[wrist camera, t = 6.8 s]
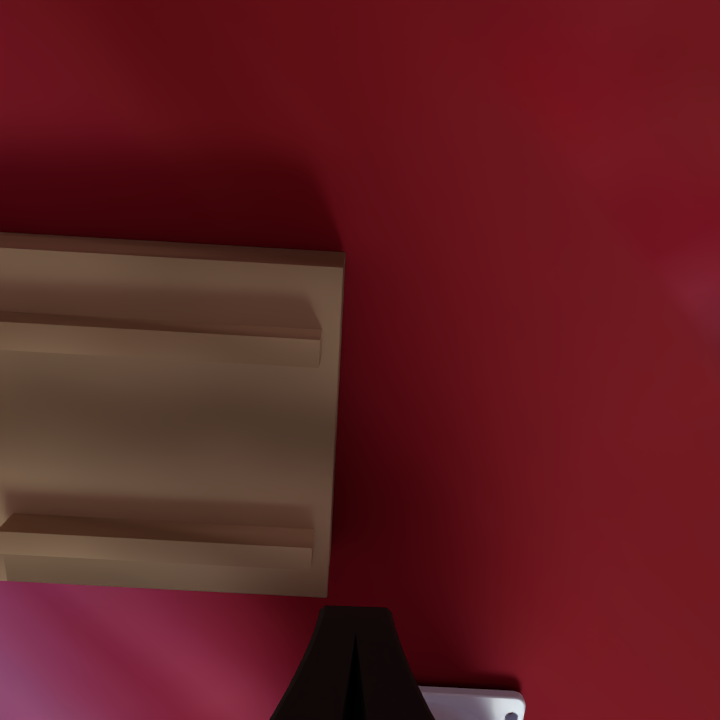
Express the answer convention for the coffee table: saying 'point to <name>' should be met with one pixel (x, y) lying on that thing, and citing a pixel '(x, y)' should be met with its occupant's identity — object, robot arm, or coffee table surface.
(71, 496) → the board
